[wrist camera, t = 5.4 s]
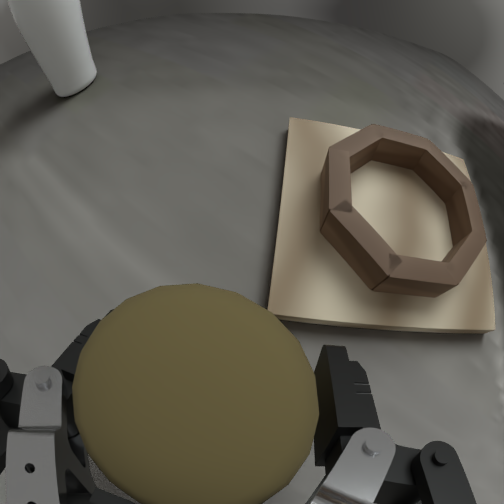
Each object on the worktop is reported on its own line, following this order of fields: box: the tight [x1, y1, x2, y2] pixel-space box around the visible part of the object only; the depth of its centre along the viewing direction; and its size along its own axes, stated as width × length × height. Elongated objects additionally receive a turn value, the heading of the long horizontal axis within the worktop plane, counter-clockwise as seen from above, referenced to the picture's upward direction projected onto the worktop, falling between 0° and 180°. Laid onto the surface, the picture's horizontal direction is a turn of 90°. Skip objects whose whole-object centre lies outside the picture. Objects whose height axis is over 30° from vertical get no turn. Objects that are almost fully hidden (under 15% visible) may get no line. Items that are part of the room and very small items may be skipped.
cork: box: [72, 283, 319, 504], centre depth 9 cm, size 6×6×11 cm
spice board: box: [267, 117, 495, 333], centre depth 16 cm, size 15×14×4 cm
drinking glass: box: [8, 0, 97, 97], centre depth 18 cm, size 7×7×15 cm
